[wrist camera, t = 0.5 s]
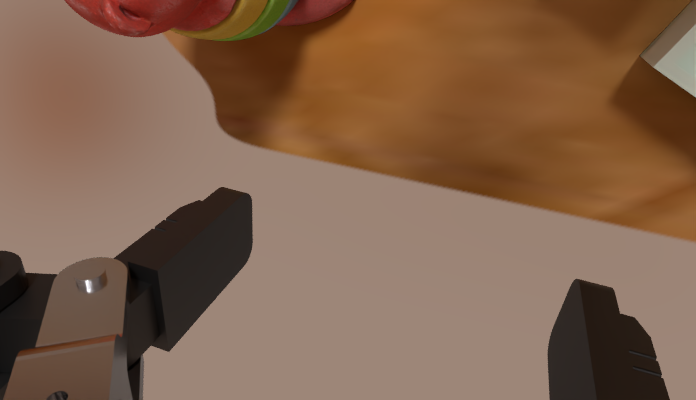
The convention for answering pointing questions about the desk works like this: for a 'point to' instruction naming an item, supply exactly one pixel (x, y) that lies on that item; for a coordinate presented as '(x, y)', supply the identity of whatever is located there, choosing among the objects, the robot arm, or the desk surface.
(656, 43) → the green crate
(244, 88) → the desk surface
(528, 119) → the desk surface
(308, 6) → the stacking bear
